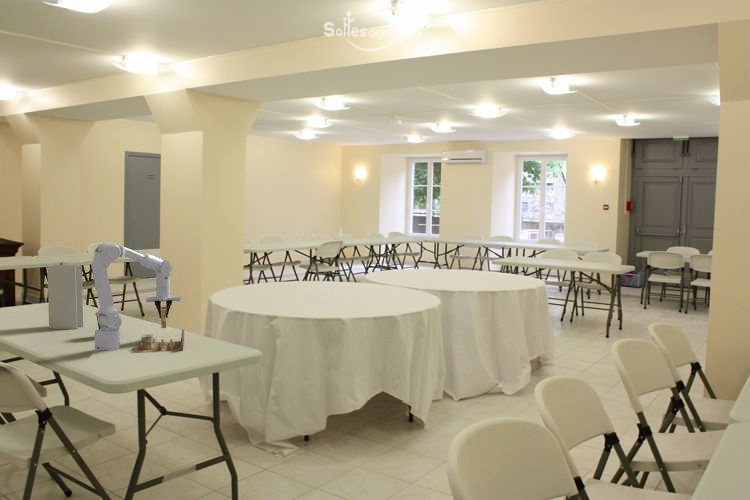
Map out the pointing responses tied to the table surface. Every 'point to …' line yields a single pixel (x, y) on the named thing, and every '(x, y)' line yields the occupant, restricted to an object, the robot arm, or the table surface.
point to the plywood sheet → (163, 316)
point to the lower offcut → (146, 345)
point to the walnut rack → (161, 346)
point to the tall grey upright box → (65, 296)
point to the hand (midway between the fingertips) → (163, 317)
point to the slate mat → (162, 336)
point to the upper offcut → (147, 338)
